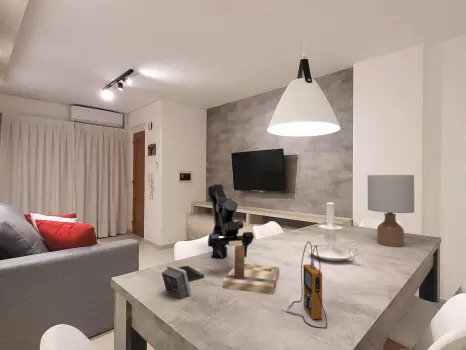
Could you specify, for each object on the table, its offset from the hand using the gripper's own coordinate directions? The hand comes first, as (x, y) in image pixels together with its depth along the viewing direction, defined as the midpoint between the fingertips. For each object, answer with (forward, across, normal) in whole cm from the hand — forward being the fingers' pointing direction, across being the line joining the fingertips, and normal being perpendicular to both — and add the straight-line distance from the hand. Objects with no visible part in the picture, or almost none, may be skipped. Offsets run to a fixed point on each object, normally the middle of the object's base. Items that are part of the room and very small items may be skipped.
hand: (234, 257), depth 99 cm
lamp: (-14, +106, +25) cm, 110 cm away
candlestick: (-2, +53, +13) cm, 55 cm away
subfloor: (+8, +6, +3) cm, 11 cm away
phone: (0, -18, +12) cm, 21 cm away
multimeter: (+27, +11, -16) cm, 34 cm away
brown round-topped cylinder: (+10, 0, +1) cm, 10 cm away
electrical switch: (+12, -23, -1) cm, 26 cm away
